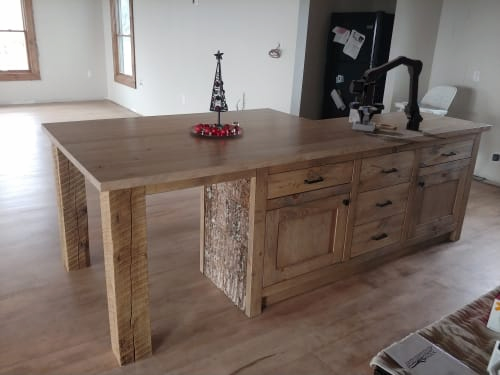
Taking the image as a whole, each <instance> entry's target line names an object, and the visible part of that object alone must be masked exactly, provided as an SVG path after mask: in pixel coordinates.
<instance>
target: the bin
mask: <svg viewBox="0 0 500 375" xmlns="http://www.w3.org/2000/svg"><path fill="white" fill-rule="evenodd" d="M360 123H361V122H360V121H355V122H352V128H351V129H352V132H354V131H356V132H359V133H363V132H367V133H368V134H371V133H374V131H375V129H376V125H377V122H371V121H370V122H369V124H368V125H361V124H360Z"/></svg>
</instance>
